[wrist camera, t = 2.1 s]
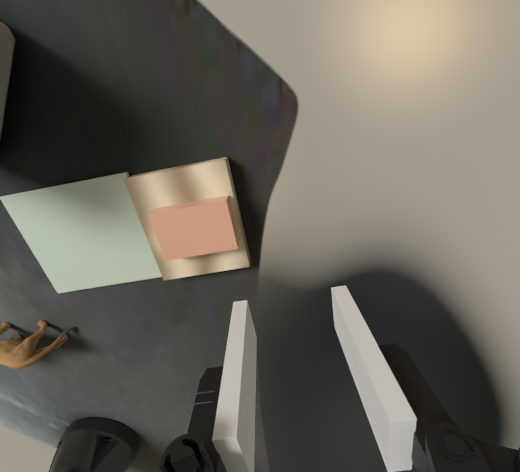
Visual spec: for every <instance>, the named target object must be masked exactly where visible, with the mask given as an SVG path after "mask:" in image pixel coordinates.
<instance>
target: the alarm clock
mask: <svg viewBox="0 0 520 472" xmlns="http://www.w3.org/2000/svg"><path fill="white" fill-rule="evenodd" d="M14 46H15V38H14V37H13V35H12V33H11V31H10V29H9V28H8V26H7V25H5V24H4V23H2V22H1V21H0V139H1V132H2V126H3V119H4V112H5V106H6V99H7V93H8V86H9V79H10V73H11V66H12V59H13V53H14Z"/></svg>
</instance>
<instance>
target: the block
mask: <svg viewBox="0 0 520 472" xmlns="http://www.w3.org/2000/svg"><path fill="white" fill-rule="evenodd" d="M148 216H149V219H150V222H151V224H152V227H153V230H154V232H155V235H156V237H157V240H158V243H159V245H160V248H161V251H162V253H163V256H164V259H165V261H168V260H174V259H180V258H186V257H192V256H198V255H204V254H210V253H216V252H223V251H229V250H235V249H238V247H239V241H240V240H239V236H238V231H237V227H236V223H235V219H234V215H233V210H232V206H231V202H230V198H229V195H225V196H220V197H214V198H209V199H203V200H198V201H192V202H187V203H181V204H176V205H170V206H165V207H159V208H155V209H154V210H153V211H152V212H150V213H149V214H148Z"/></svg>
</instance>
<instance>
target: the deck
mask: <svg viewBox="0 0 520 472" xmlns="http://www.w3.org/2000/svg"><path fill="white" fill-rule="evenodd" d="M124 182H125V184H126V187H127V190H128V192H129V195H130V197H131V200H132V202H133V205H134V207H135V210H136V212H137V215H138V217H139V220H140V222H141V225H142V227H143V230H144V232H145V235H146V237H147V240H148V242H149V245H150V248H151V250H152V253H153V255H154V258H155V260H156V263H157V265H158V268H159V270H160V273H161V275H162V278H163V280H170V279H176V278H182V277H189V276H195V275H201V274H208V273H214V272H220V271H226V270H233V269H239V268H245V267H250V254H249V249H248V245H247V241H246V236H245V232H244V227H243V223H242V218H241V214H240V209H239V205H238V201H237V196H236V192H235V187H234V183H233V178H232V174H231V169H230V165H229V161H228V157H225V158H219V159H214V160H209V161H204V162H199V163H194V164H188V165H183V166H178V167H173V168H168V169H162V170H157V171H152V172H147V173H142V174H136V175H132V176H130V177H127V178H124ZM225 195H229V198H230V202H231V206H232V210H233V215H234V219H235V223H236V227H237V231H238V236H239V240H240V241H239V247H238V249H235V250H229V251H223V252H216V253H210V254H204V255H198V256H192V257H186V258H180V259H174V260H168V261H165V259H164V256H163V253H162V251H161V248H160V245H159V243H158V240H157V237H156V235H155V232H154V230H153V227H152V224H151V222H150V219H149V216H148V214H149V213H150V212H152V211H153V210H154V209H155V208H159V207H165V206H170V205H176V204H181V203H187V202H192V201H198V200H203V199H209V198H214V197H220V196H225Z"/></svg>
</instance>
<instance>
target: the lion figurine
mask: <svg viewBox="0 0 520 472" xmlns="http://www.w3.org/2000/svg"><path fill="white" fill-rule="evenodd" d="M10 326H11V325H10V324H9V323H8V322H3V323H2V328H0V335H1V334H2V333H4V332H5V331H7V330H8V329H9V328H10ZM38 326H39V327H41V328H40V330H39V331H38V332H36V333H35V334H33V335H31V336H30V337H28V338H26V339H25V340H24V341H23V342H22V343H20V342H18V340H19V339H20V338H21V336H20V335H19V334H14V335H12V337H11V338H10V339H5V340H0V365H6V366H8V367H10V368H14V369H22V368H26V367H29V366H31V365H32V364H34V363H35V362H37V361H38V360H39V359H40V358H41V357H43V356H44V355H45V354H47V353H48V352H50V351H51V350H53V349H56V348H58V347H60V346H61V345H62V344H63V343H64V342H65V341H66V340H67V339H68V336H67V335H65V334H67V333H68V332H69V331H71V330H72V327H71V328H67V329H66V330H64V331H63V333H62V334H61V335H60V336H59V337H58V338H57V339H56V340H55V341H54V342H53V343H52V344H51V345H49V346H46V347H43V348H40V349H37V350H35V349H36V347H37V344H38V341H39V339H40V337H41V336H42V335H44V334H45V333H46V332H47V323H46V321H44V320H40V321H39V322H38Z"/></svg>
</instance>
